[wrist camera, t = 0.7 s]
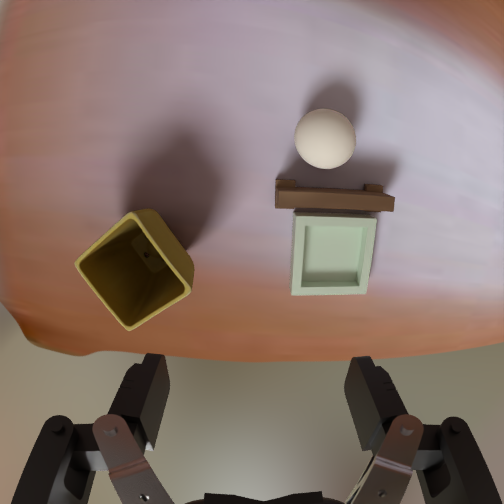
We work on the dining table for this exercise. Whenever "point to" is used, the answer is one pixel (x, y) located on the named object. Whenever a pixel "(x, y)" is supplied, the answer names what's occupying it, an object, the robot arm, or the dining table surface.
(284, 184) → the rail
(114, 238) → the flower pot
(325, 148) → the ball
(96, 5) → the dining table surface
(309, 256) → the dish
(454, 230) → the dining table surface
